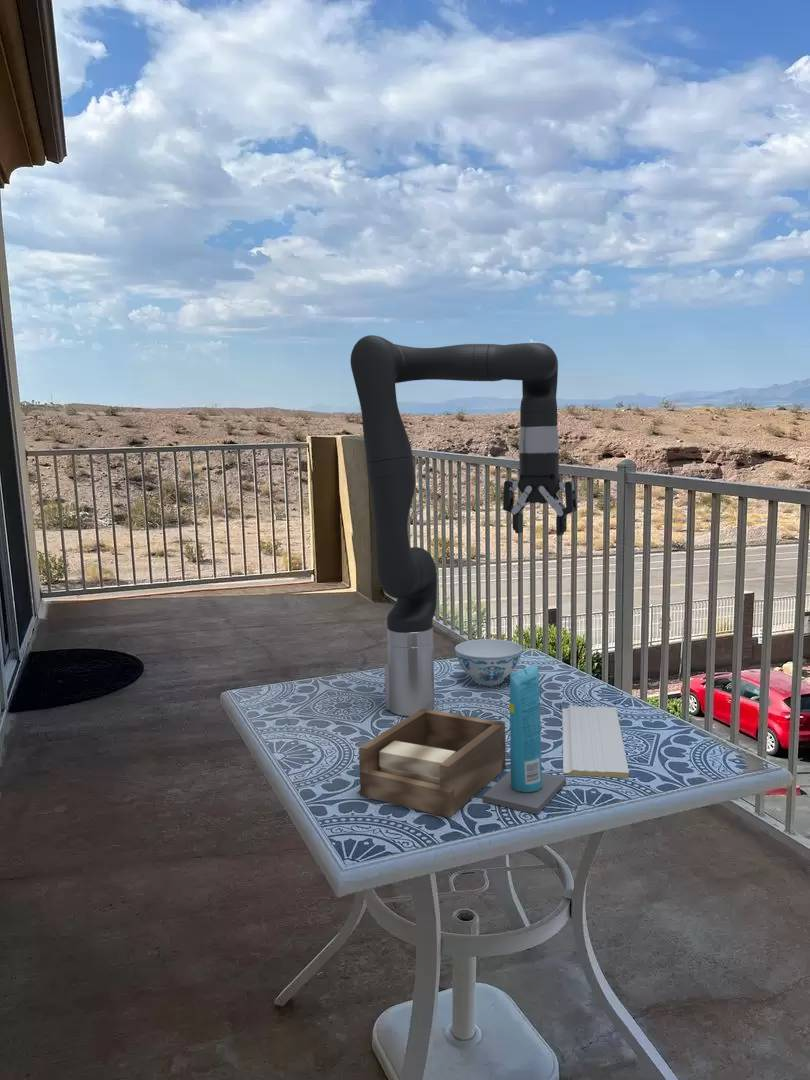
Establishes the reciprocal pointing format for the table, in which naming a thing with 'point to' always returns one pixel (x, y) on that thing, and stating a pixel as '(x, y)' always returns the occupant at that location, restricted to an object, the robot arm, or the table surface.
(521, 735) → the tube
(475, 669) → the chinaware
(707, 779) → the table surface
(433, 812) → the open wooden box
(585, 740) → the baseboard molding
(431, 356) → the robot arm
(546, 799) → the mat
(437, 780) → the offcut middle
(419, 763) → the offcut top
